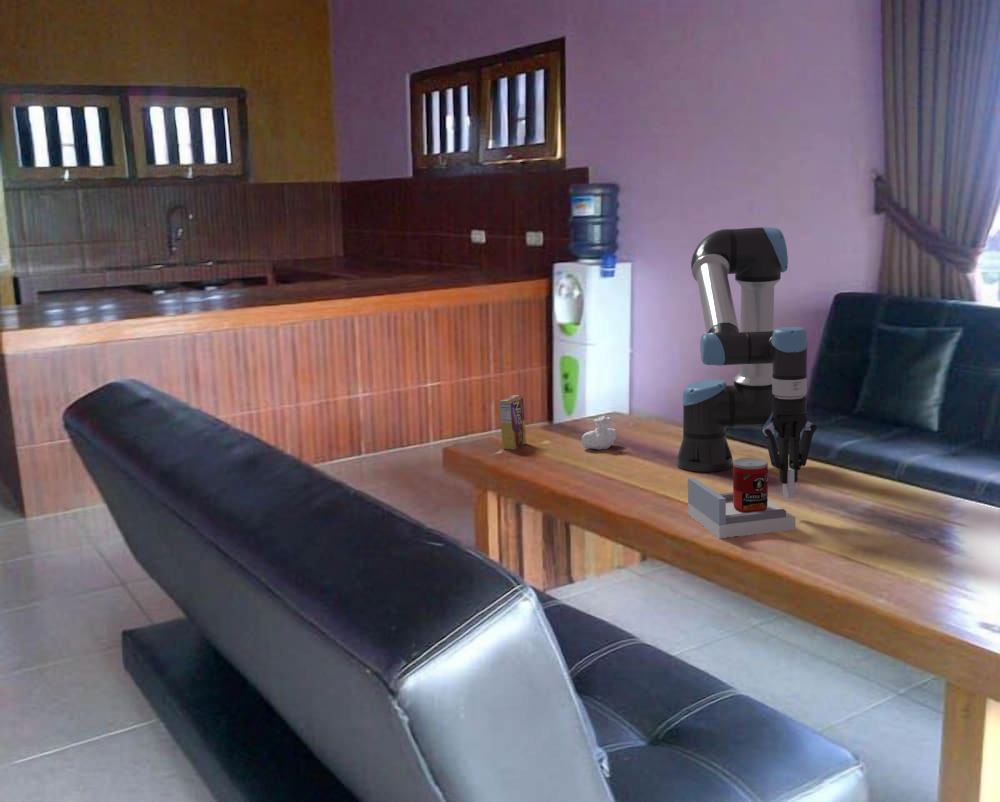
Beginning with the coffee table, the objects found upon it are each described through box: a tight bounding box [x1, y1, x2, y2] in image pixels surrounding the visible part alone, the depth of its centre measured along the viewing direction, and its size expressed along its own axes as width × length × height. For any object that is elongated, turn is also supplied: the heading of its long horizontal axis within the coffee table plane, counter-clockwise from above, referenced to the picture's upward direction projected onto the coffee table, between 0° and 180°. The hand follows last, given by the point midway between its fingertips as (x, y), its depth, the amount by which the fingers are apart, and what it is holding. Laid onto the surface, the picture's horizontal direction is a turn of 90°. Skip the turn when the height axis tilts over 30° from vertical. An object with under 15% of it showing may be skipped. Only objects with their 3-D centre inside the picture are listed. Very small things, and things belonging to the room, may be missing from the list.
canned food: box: [732, 457, 769, 513], centre depth 232 cm, size 8×8×11 cm
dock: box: [687, 477, 796, 540], centre depth 232 cm, size 18×18×9 cm
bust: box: [581, 415, 618, 451], centre depth 305 cm, size 12×8×11 cm
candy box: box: [499, 394, 527, 451], centre depth 313 cm, size 9×4×15 cm, turn 152°
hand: (788, 496), depth 234 cm, fingers closed
